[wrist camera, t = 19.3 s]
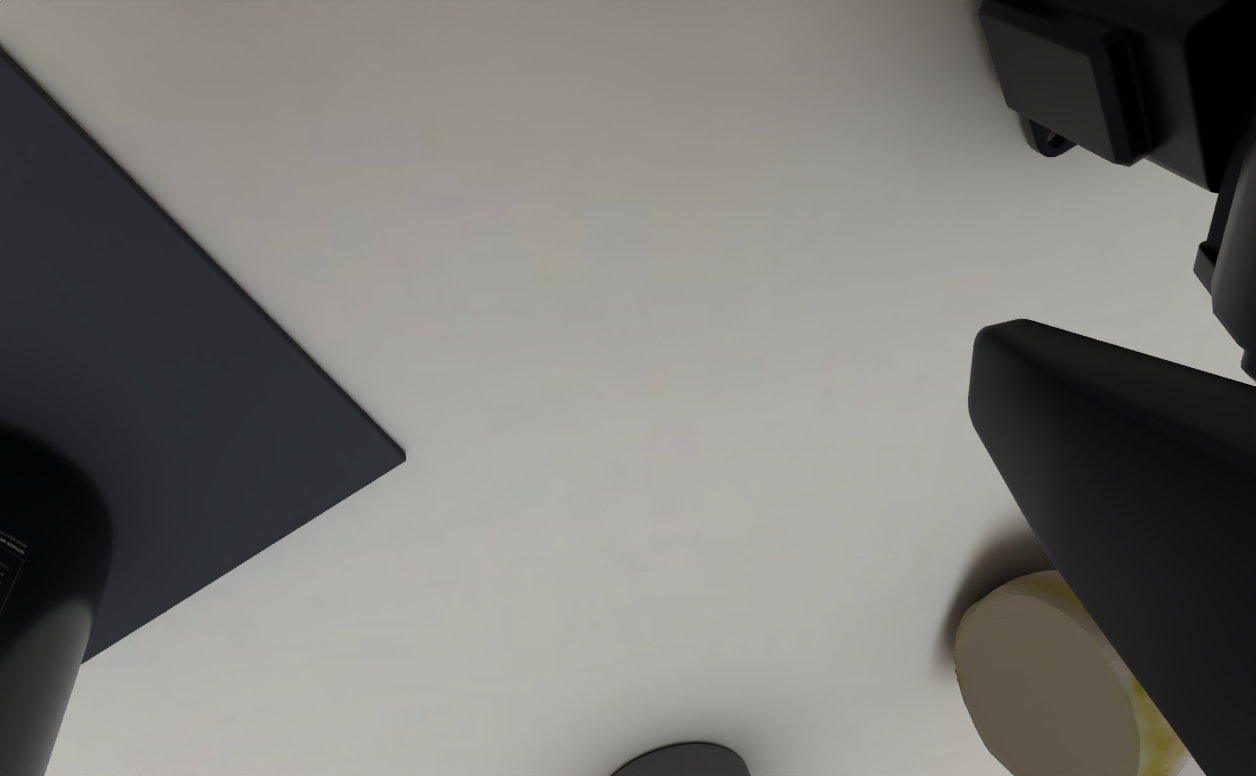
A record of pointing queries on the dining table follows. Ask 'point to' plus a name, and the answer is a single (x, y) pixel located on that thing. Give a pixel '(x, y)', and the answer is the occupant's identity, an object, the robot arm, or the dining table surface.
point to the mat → (154, 374)
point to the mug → (1056, 688)
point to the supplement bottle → (44, 596)
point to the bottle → (687, 762)
